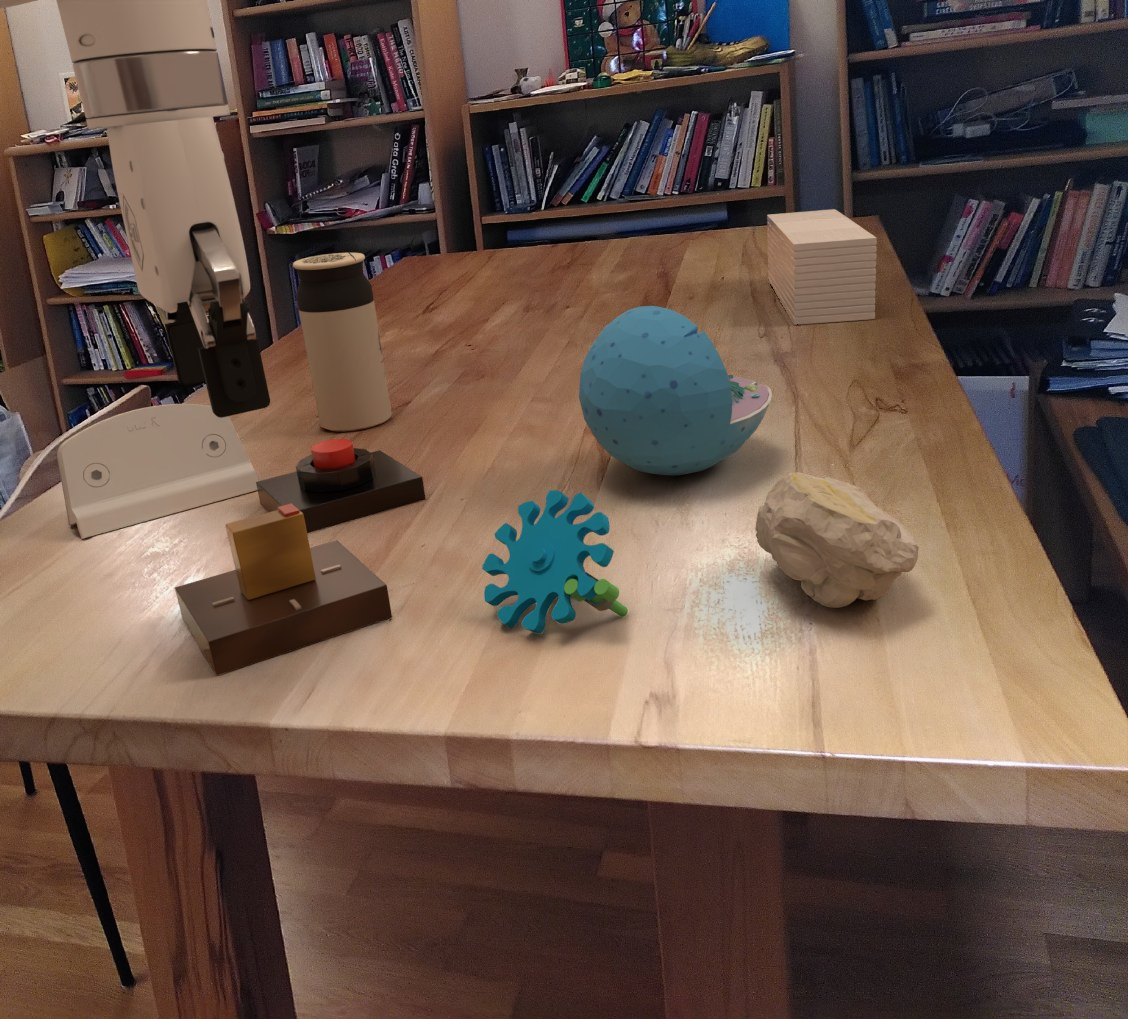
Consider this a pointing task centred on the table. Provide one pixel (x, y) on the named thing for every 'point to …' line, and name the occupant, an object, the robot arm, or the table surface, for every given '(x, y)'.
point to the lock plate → (282, 610)
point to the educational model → (665, 395)
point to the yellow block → (271, 551)
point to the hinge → (151, 466)
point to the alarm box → (343, 489)
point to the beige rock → (833, 539)
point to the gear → (551, 564)
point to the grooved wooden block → (822, 266)
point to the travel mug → (342, 342)
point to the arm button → (333, 453)
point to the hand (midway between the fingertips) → (222, 395)
